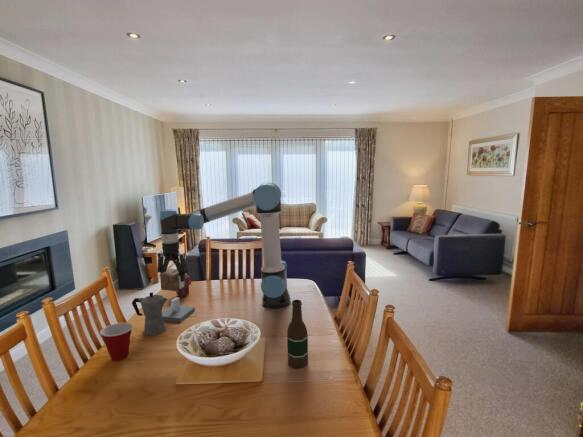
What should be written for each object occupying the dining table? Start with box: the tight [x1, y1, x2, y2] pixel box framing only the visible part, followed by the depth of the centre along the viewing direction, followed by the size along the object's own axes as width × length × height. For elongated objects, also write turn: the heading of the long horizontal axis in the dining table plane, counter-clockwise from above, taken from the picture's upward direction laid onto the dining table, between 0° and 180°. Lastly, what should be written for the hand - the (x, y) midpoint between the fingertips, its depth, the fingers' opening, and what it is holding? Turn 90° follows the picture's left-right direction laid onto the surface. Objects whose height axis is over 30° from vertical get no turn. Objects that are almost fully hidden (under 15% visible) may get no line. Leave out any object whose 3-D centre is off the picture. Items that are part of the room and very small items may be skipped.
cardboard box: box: [159, 268, 186, 292], centre depth 141 cm, size 8×8×8 cm
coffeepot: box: [131, 292, 168, 337], centre depth 129 cm, size 15×9×18 cm, turn 92°
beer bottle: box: [286, 299, 309, 369], centre depth 105 cm, size 8×8×24 cm
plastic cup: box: [99, 322, 134, 362], centre depth 111 cm, size 11×11×12 cm
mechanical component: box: [175, 273, 192, 299], centre depth 167 cm, size 12×10×10 cm
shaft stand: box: [162, 296, 196, 323], centre depth 144 cm, size 13×12×8 cm
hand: (173, 286), depth 142 cm, fingers closed on cardboard box, 8 cm apart
